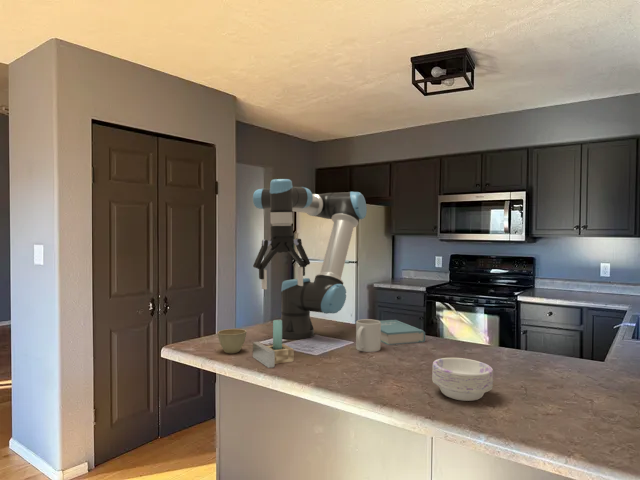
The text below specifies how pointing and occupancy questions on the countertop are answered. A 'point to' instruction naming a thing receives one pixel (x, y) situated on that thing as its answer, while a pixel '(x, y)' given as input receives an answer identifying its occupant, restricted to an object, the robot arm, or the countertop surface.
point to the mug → (368, 335)
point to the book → (400, 333)
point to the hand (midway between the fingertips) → (282, 287)
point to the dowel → (277, 334)
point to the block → (283, 354)
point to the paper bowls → (462, 378)
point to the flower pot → (232, 339)
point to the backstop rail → (264, 354)
